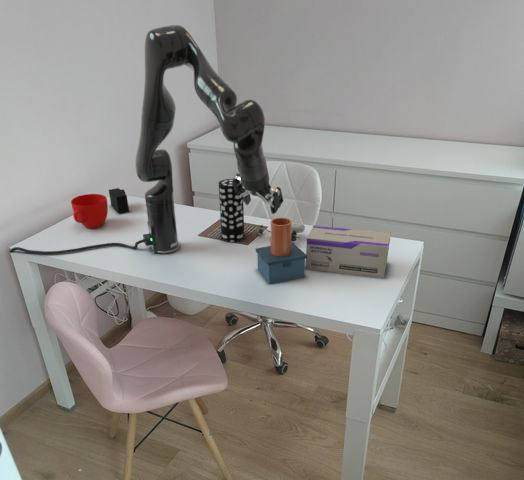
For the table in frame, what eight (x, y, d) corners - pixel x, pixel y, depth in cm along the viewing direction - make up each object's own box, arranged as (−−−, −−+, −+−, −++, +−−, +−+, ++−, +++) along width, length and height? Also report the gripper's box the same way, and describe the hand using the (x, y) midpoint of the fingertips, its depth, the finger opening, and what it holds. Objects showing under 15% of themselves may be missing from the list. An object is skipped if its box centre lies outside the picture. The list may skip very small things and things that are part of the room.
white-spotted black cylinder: (243, 242, 193) (242, 186, 181) (220, 242, 193) (217, 186, 182) (244, 232, 200) (243, 178, 188) (222, 232, 200) (219, 178, 188)
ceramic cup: (63, 233, 201) (57, 207, 195) (88, 217, 214) (83, 192, 208) (94, 237, 198) (88, 211, 192) (117, 220, 211) (113, 195, 205)
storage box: (268, 284, 167) (268, 262, 162) (255, 269, 175) (255, 248, 171) (306, 277, 170) (307, 255, 166) (292, 263, 179) (292, 242, 174)
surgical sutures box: (305, 268, 175) (306, 238, 169) (312, 255, 184) (313, 225, 177) (383, 278, 169) (387, 246, 163) (386, 263, 178) (390, 233, 172)
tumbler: (275, 257, 165) (275, 226, 159) (267, 249, 170) (267, 219, 164) (294, 254, 167) (294, 223, 161) (286, 246, 172) (286, 216, 166)
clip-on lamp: (251, 247, 196) (295, 246, 187) (247, 231, 193) (291, 229, 184) (266, 232, 204) (309, 231, 195) (262, 217, 201) (305, 214, 191)
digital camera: (132, 211, 219) (129, 194, 215) (119, 214, 216) (116, 197, 212) (124, 203, 226) (121, 187, 222) (111, 206, 224) (108, 189, 220)
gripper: (222, 172, 142) (233, 209, 157) (270, 188, 138) (277, 225, 153) (235, 150, 144) (245, 189, 159) (283, 166, 140) (289, 204, 155)
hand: (261, 207), depth 156 cm, fingers open, 8 cm apart
